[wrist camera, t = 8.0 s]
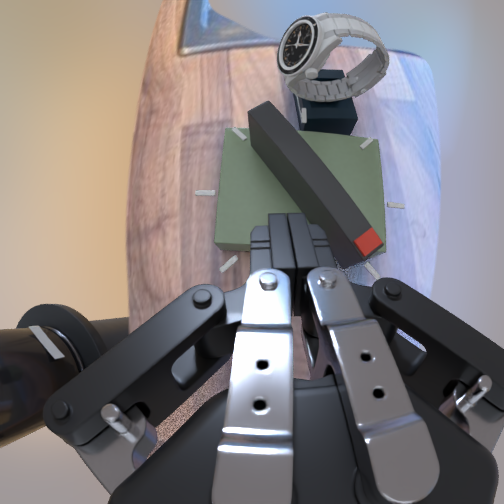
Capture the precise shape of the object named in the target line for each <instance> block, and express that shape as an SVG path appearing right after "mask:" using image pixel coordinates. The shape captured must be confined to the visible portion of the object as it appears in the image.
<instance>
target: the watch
mask: <svg viewBox="0 0 504 504" xmlns="http://www.w3.org/2000/svg"><path fill="white" fill-rule="evenodd" d="M349 35H350V36H351V37H357V38H363V39H365V40H368V41H370V42H373V43H374V44H375V45H376V46H377V47H376V50H374V51H373V53H372V54H369V55H368V56H367V57H366V58H365V59H364V60H363V61H362V62H361V63H360V64H359V65H358V66H357V67H355V68H354V69H352V70H351V71H349V72H348V73H347V74H346V75H347V77H345V76H344V73H343V70H324V69H322V67H323V66H324V65H325V63H326V60H327V58H328V57H329V55H330V52H331V51H332V50H333V49H334V48H336V47H337V46H338V45H339V44H340V43H341V42H342V38H340V37H347V36H349ZM277 65H278V69H279V70H280V72H281V73H282V74H283V75H284V78H285V83H286V85H287V87H288V88H289V89H290V91H291V92H292V93H293V95H294V100H295V105H296V110H297V115H298V121H299V126H300V131H310V132H321V133H331V134H340V135H349V136H350V134H351V132H352V130H353V128H354V126H355V124H356V122H357V120H358V117H357V113H356V110H355V107H354V103H353V100H352V97H353V96H355V98H356V97H358V96H359V95H361V94H363V93H365V92H366V91H367V90H369V89H370V88H372V87H373V86H374V85H375V84H377V83H378V82H379V81H380V80H381V79H382V78H383V77H384V76H385V75H386V70H387V68H388V66H389V55H388V52H387V50H386V48H385V46H384V44H383V42H382V40H381V38H380V37H379V35H378V33H377V32H376V30H375V29H374V28H373V27H372V26H371V25H370V24H368V23H367V22H365V21H364V20H362V19H360V18H358V17H354V16H351V15H347V14H335V13H333V14H329V13H322V14H318V15H315V16H309V15H306V16H302V17H300V18H298V19H297V20H295V21H294V22H293V23H292V24H291V25H290V27H289V28H288V29H287V30H286V32H285V33H284V35H283V37H282V39H281V42H280V44H279V48H278V53H277ZM302 108H306V117H307V123H302Z"/></svg>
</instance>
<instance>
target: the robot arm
mask: <svg viewBox="0 0 504 504" xmlns="http://www.w3.org/2000/svg"><path fill="white" fill-rule="evenodd" d="M292 311H293V314H294V316H301V320H302V326H301V336H302V341H303V345H304V349H305V354H306V358H307V363H308V367H309V372H310V380H304V379H297V378H293V329H292V327H291V317H292ZM28 327H29V328H18V329H3V330H0V448H1V447H3V446H6V445H8V444H10V443H12V442H14V441H16V440H18V439H20V438H22V437H25V436H27V435H29V434H31V433H33V432H35V431H37V430H39V429H40V428H43V427H45V426H47V427H48V428H49V429H50V430H51V431H52V432H53V433H55V434H56V435H57V436H59V437H60V438H62V439H63V440H64V441H65V442H66V443H67V444H69V445H70V446H72V447H73V448H74V449H75V450H76V451H77V453H78V454H79V455H80V457H81V458H82V460H83V461H84V463H85V464H86V465H87V466H88V468H89V469H90V470H91V472H92V473H93V474H94V476H95V477H96V478H97V479H98V480H99V482H100V483H101V484H102V485H103V487H104V488H105V489H106V490H107V491H108V493H109V494H110V495H111V496H110V499H109V501H108V504H493V503H494V498H495V494H496V490H497V486H498V478H499V475H498V467H497V463H496V460H495V458H494V456H493V455H492V451H493V449H494V447H495V445H496V443H497V441H498V439H499V436H500V434H501V432H502V430H503V427H504V349H503V348H501V347H500V346H498V345H497V344H496V343H494V342H493V341H491V340H490V339H489V338H487V337H486V336H484V335H483V334H481V333H480V332H478V331H477V330H475V329H474V328H472V327H471V326H470V325H468V324H467V323H465V322H464V321H462V320H461V319H459V318H457V317H456V316H455V315H453V314H452V313H450V312H449V311H447V310H445V309H444V308H442V307H441V306H439V305H438V304H436V303H434V302H433V301H432V300H430V299H428V298H427V297H425V296H424V295H422V294H421V293H419V292H417V291H416V290H414V289H413V288H411V287H409V286H408V285H406V284H405V283H403V282H401V281H399V280H397V279H394V278H381V279H378V280H377V281H375V283H374V284H373V287H367V286H362V285H357V284H354V283H352V282H349V280H348V277H347V276H346V274H345V273H344V272H342V271H341V270H339V269H338V268H337V265H336V262H335V259H334V256H333V253H332V250H331V247H330V244H329V242H328V240H327V236H326V233H325V231H324V230H323V229H322V228H321V227H320V226H319V225H318V224H308V223H307V219H306V216H305V213H287V214H286V213H268V225H264V226H255V227H254V229H253V230H252V231H251V233H250V276H249V277H248V279H247V282H246V283H245V284H244V285H243V286H241V287H239V288H237V289H235V290H232V291H228V292H224V293H223V291H222V290H221V289H220V288H219V287H217V286H214V285H210V284H201V285H196V286H194V287H192V288H190V289H188V290H187V291H185V292H184V293H183V294H182V295H180V296H179V297H178V298H176V299H175V300H174V301H172V302H171V303H170V304H168V305H167V306H166V307H165V308H163V309H162V310H161V311H159V312H158V313H157V314H155V315H154V316H153V317H151V318H150V319H149V320H148V321H146V322H145V323H144V324H142V325H141V326H140V327H138V328H137V329H136V330H135V331H133V332H132V333H131V334H129V335H128V336H127V337H126V338H124V339H123V340H122V341H120V342H119V343H118V344H116V345H115V346H114V347H113V348H111V349H110V350H109V351H107V352H106V353H105V354H104V355H102V356H101V357H100V358H98V359H97V360H96V361H95V362H93V363H92V364H91V365H89V366H88V367H87V368H85V364H84V362H83V359H82V357H81V355H80V353H79V351H78V349H77V347H76V346H75V344H74V343H73V342H72V341H71V339H70V338H69V337H68V336H67V335H66V334H65V333H63V332H62V331H61V330H59V329H57V328H55V327H52V326H28ZM398 328H399V329H400V330H402V331H403V332H405V333H406V334H408V335H409V336H410V337H412V338H413V339H415V340H416V341H418V342H419V343H421V344H422V345H423V346H424V347H425V349H426V351H427V352H424V351H422V350H421V349H419V348H418V347H416V346H415V345H414V344H412V343H411V342H409V341H408V340H406V339H405V338H404V337H402V336H401V335H399V334H398V333H396V331H397V329H398ZM232 353H234V355H233V362H232V369H231V376H230V384H229V389H226V390H224V391H222V392H220V393H218V394H216V395H215V396H213V397H211V398H210V399H209V400H208V401H206V402H205V403H204V404H203V405H202V406H201V407H200V408H199V409H198V410H197V411H196V412H195V413H194V414H193V415H192V416H191V417H190V418H189V419H188V420H187V421H186V422H185V423H184V424H183V425H182V426H181V427H180V428H179V429H178V430H177V431H176V432H175V433H174V434H173V435H172V436H171V437H170V438H169V439H168V440H167V441H166V442H165V443H164V444H163V445H162V446H161V447H160V448H159V449H158V450H157V451H156V452H155V453H154V454H152V455H151V456H150V457H149V458H148V459H147V457H148V456H149V454H150V453H151V451H152V450H153V449H154V448H155V446H156V443H157V439H158V435H157V431H156V427H157V426H158V425H159V424H161V423H162V422H163V421H164V420H165V419H166V418H167V417H168V416H169V415H171V414H172V413H173V412H174V411H175V410H176V409H177V408H178V407H179V406H180V405H182V404H183V403H184V402H185V401H186V400H187V399H188V398H189V397H190V396H191V395H192V394H193V393H195V392H196V391H197V390H198V389H199V388H200V387H201V386H202V385H203V384H204V383H205V382H206V381H207V380H208V379H209V378H210V377H211V376H212V375H213V374H215V373H216V372H217V371H218V370H219V369H220V368H221V367H222V366H223V365H224V364H225V363H226V362H227V361H228V360H229V359H230V357H231V356H232Z"/></svg>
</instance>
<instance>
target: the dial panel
mask: <svg viewBox="0 0 504 504" xmlns="http://www.w3.org/2000/svg"><path fill="white" fill-rule="evenodd" d="M302 123H307V117H306V108H302ZM296 131H297V132H298V133H299V134H300V135H301V136H302V138H303V139H304V140H305V141H306V142H307V143H308V145H309V146H310V147H311V148H312V149H313V151H314V152H315V153H316V154H317V155H318V157H319V158H320V159H321V160H322V161H323V163H324V164H325V165H326V166H327V168H328V169H329V170H330V171H331V173H332V174H333V175H334V176H335V178H336V179H337V180H338V181H339V183H340V184H341V185H342V187H343V188H344V189H345V190H346V192H347V193H348V194H349V196H350V197H351V198H352V200H353V201H354V202H355V204H356V205H357V206H358V208H359V209H360V211H361V212H362V213H363V215H364V216H365V218H366V219H367V220H368V222H369V223H370V225H371V226H372V227H373V229H374V230H375V232H376V233H377V235H378V236H379V237H380V239H381V240H382V242H383V243H384V246H383V247H382V248H380V249H379V250H378V251H376V252H375V253H374V254H373V255H371V256H370V257H369V258H372V257H375V256H377V255H380V254H382V253H385V252H386V229H385V207H384V192H383V180H382V169H381V160H380V151H379V143H378V140H377V139H372V138H371V137H370V138H364V137H356V136H349V135H340V134H331V133H321V132H310V131H298V130H296ZM215 192H216V191H210V190H196V193H195V195H196V196H215ZM387 207H391V208H400V209H404V204H401V203H393V202H387ZM268 213H286V214H287V213H302V211H301V210H300V208H299V207H298V206H297V204H296V203H295V202H294V200H293V199H292V198H291V196H290V195H289V194H288V192H287V191H286V190H285V189H284V187H283V186H282V185H281V183H280V182H279V181H278V179H277V178H276V177H275V176H274V174H273V173H272V172H271V170H270V169H269V168H268V167H267V165H266V164H265V163H264V161H263V160H262V159H261V158H260V156H259V155H258V154H257V153H256V151H255V150H254V149H253V148H252V146H251V142H250V131H249V128H236V127H234V128H226V129H225V136H224V145H223V154H222V163H221V173H220V182H219V193H218V203H217V214H216V225H215V237H214V243H215V244H216V245H217V246H218V247H219V249H220V250H232V251H250V233H251V231H252V230H253V229H254V227H255V226H264V225H268ZM306 219H307V218H306ZM307 223H308V224H311V223H310V222H309V221H308V219H307ZM237 260H238V258H237V257H236V256H235V255H234V256H233V257H232V258H231V259H230V260H229V261H228V262H227V263H225V264H224V265H223V266H222V267H221V268H220V269H219V270H220V271H221V272H222V273H224V272H225V271H226V270H227V269H228V268H229V267H231V266H232V265H233V264H234V263H235V262H236V261H237ZM364 266H365V267H366V269H367V270H368V271H369V272H370V273H371V274H372V276H373V277H374V278H375V279H376V280H378V279H379V278H380V275H379V274H378V273H377V272H376V271H375V270H374V268H373V267H372V266H371V265H370V264H369V263H368V262H367V263H366V264H365V265H364Z"/></svg>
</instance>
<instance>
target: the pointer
mask: <svg viewBox="0 0 504 504" xmlns="http://www.w3.org/2000/svg"><path fill="white" fill-rule="evenodd" d="M248 121H249V131H250V142H251V146H252V148H253V149H254V150H255V151H256V153H257V154H258V155H259V156H260V158H261V159H262V160H263V161H264V163H265V164H266V165H267V167H268V168H269V169H270V170H271V172H272V173H273V174H274V176H275V177H276V178H277V179H278V181H279V182H280V183H281V185H282V186H283V187H284V189H285V190H286V191H287V192H288V194H289V195H290V196H291V198H292V199H293V200H294V202H295V203H296V204H297V206H298V207H299V208H300V210H301V211H302V213H305V216H306V218H307V219H308V221H309V222H310V223H311V224H318V225H319V226H320V227H321V228H322V229H323V230H324V231H325V233H326V236H327V240H328V242H329V244H330V247H331V250H332V253H333V256H334V257H335V259H336V260H337V262H338V263H339V264H340V266H341V267H342V269H345V268H347V267H350V266H353V265H355V264H358V263H360V262H363V261H365V260H366V259H368V258H369V257H370V256H371V255H373V254H374V253H375V252H376V251H378V250H379V249H380V248H382V247H383V246H384V243H383V242H382V240H381V239H380V237H379V236H378V235H377V233H376V232H375V230H374V229H373V227H372V226H371V225H370V223H369V222H368V220H367V219H366V218H365V216H364V215H363V213H362V212H361V211H360V209H359V208H358V206H357V205H356V204H355V202H354V201H353V200H352V198H351V197H350V196H349V194H348V193H347V192H346V190H345V189H344V188H343V187H342V185H341V184H340V183H339V181H338V180H337V179H336V178H335V176H334V175H333V174H332V173H331V171H330V170H329V169H328V168H327V166H326V165H325V164H324V163H323V161H322V160H321V159H320V158H319V157H318V155H317V154H316V153H315V152H314V151H313V149H312V148H311V147H310V146H309V145H308V143H307V142H306V141H305V140H304V139H303V138H302V136H301V135H300V134H299V133H298V132H297V131H296V130H295V129H294V127H293V126H292V125H291V124H290V123H289V122H288V121H287V120H286V118H285V117H284V116H283V115H282V114H281V113H280V112H279V111H278V110H277V109H276V108H275V107H274V105H273V104H272V103H271V102H270V101H266V102H264V103H262V104H260V105H259V106H257V107H255V108H253V109H251V110H249V111H248Z"/></svg>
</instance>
